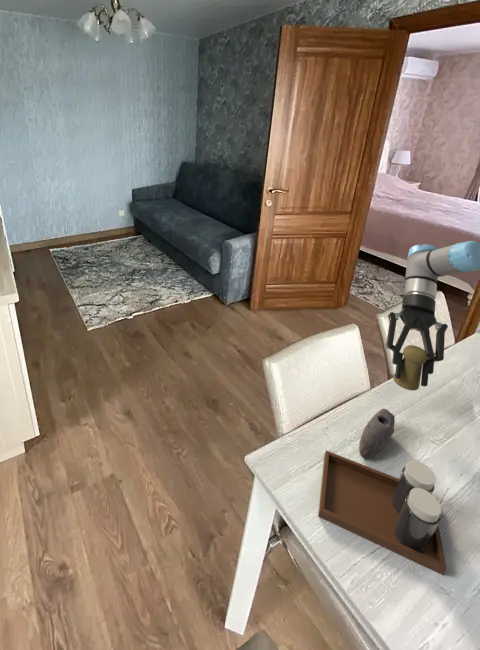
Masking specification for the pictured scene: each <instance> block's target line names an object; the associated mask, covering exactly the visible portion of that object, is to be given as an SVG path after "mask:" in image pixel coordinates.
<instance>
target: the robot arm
mask: <svg viewBox="0 0 480 650" xmlns="http://www.w3.org/2000/svg"><path fill="white" fill-rule="evenodd" d="M407 254H408V255H407V258H406V268H405V269H406V270H405V277H404V278H405V279H404V285H403V287H404V288H403V297H402V302H401V309H400V311H399V312H394V311H391V312H389V313H388V315H387V318H388V322H389V323H388V329H387V335H386V343H385V347H386V349H389V350H390V351H392V360H391V363H392V365H395V373H394V375H395V378H396V379H399V378H401V369H402V360H403V358H404V355H403V352H401V349H402V348H403V345H404V343H405V341H406V339H407V337H408V336H409V332H410V331H413V330H414V331H417V332H419V334H420V336H421V339H422V345H423V350H424V351H425V352H426V354H427V360H426V362H425V363H423V364H422V371H421V378H420V386H421V387H428V384H429V375H433V374H434V369H435V362H441V361H443V360H444V357H445V340H446V339H445V338H446V331H447V330H448V327H449V326H448V324H447V323H441V322H439V321H437V318H436V316H435V314H436V303H437V301H436V299H437V291H438V290H437V289H438V278H439V277H446V276H451V275H452V276H453V275H458V274H463V273H471V272H476V271H480V241H476V240H468V241H461V242H457V243H455V244H452V245H447V246H443V247H440V248H438V247H437V246H435V245H431V244H415V245H413V246H411V247H410V248H409V249H408V253H407ZM399 319H400V320H401V321H402V323H403V324H404V325H403V327H402V329H401V331H400V335H399V336H398V339H397V340H396V343H395V345H394V342H395V341H394V340H395V333H396V327H397V321H398V320H399ZM433 326H434V329H435V330H436V334H435V350H434V348H433V343H432V339H431V335H430V334H431V332H430V331H431V330H430V328H432V327H433Z"/></svg>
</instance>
